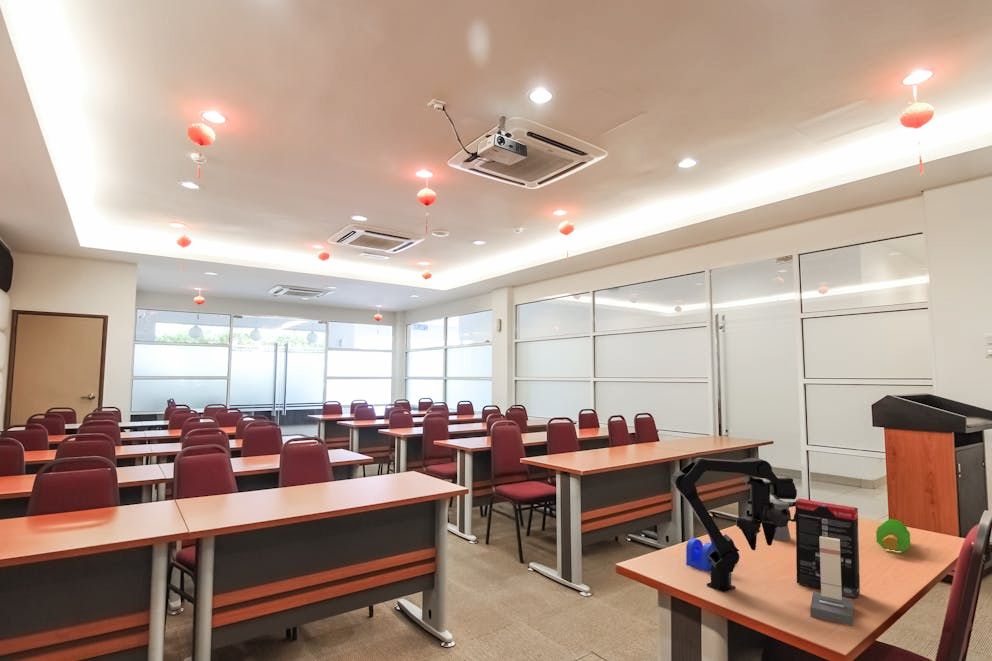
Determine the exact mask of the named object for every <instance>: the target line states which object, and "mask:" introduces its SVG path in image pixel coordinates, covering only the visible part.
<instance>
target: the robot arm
mask: <svg viewBox="0 0 992 661" xmlns="http://www.w3.org/2000/svg"><path fill="white" fill-rule="evenodd" d="M705 472H720V473H735V474H744V475H747V477H746V478H744V479H743V483H745V484H747V485H749V486H750V487H749V488H750V491H749V492H750V493H749V494H750V499H749V500H747V504H749V505H750V512H748V513H747V516H741V517H737V518H736V520H735V525H736V527H737V528H738V529H739V530H741V533H742V534H743V535H744V538H745V539H746V542H747V543H748V545H749V547H750V550H752V551H756V548H757V538H758V537H757V535H758V534H759V533H761V527H762V531H763V535H764V537H765V541H766V545H767V546H772V545H773V541H774V540H773V538H774V535H775V532H776V530H777V528H779V527H780V528H782V527H784V526H787V524H788V525H789V522H790V521H791V519H792V516H791V510H790V509H789V510H788V509H782V510H781V511H780V509H778V510H777V509H775V508H774V504H773V502H770V499H771V496H772V497H773V499H780V500H797V497H798V496H797V495H798V491H797V488H796V484H795V483H794V478H791V477H790V476H789V477H788V476H786V477H777V475H776V474H775V472H773V467H772V465H771V464H770V463H769V461H767V460H764V459H761V458H759V457H750V458H749V457H748V458H743V459H739V460H737V459H720V458H719V459H718V458H707V457H706V458H704V457H696V458H695V459H693V461H691V462H689V463H688V464H687V465H685V466H684V467H683V468H682V469H680V470H678V471H675V472H673V474H672V475H671V477H670V478H671V479H670V482H671V484H672V485H673V487H674V488H675V489H676V490H677V491H678V493H679V494H680V495H681V496H682V497H683V499H685V500H686V502H687V503H688V504H689V506H690V508H691V510H692V511H693V513H694V515H695V516H696V518H697V519H698V521H699V522H700V524H701V525H702V528H703V529H704V531H705V532H706V534H707V535H708V537H709V540H710V543H711V544H712V546H713V549H714V551H713V552H712V553H710V554H709V555H708V560H709V562H710V563H711V564H712V565H711V571H710V582H707V583H706V586H707V587H709V588H712V589H715V590H718V591H720V592H723V593H726V592H728V591H731V590H732V591H733V590H734V589H737V587H736V586H735V585H733V584H732V573H733V572H734V570H735V566H736V565H737V564H738V563H739V561H740V557H741V556H740V554H739V552H740V549H738V548H737V547H736V545H735V543H734V541H733V539H732V538H731V537H730V536H729V535H727V534H724V535H723V534H722V532H721V530H720V529H719V528H718V525H717V524H716V522H715V521H714V519H713V518H712V515H710V513H709V511H708V509H707V508H706V507H705V505H704V503H703V501H702V500H701V499H700V497H699V493H698V489H697V487H696V483H697V482H698V481H699V480H700V478H701V477H702V476H703V474H704V473H705ZM763 479H765V480H766V481H764V480H763Z"/></svg>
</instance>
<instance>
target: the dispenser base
mask: <svg viewBox="0 0 992 661" xmlns="http://www.w3.org/2000/svg"><path fill="white" fill-rule="evenodd" d="M853 605H854V604H853V598H846V597H843V596H842V600H839V599H834V598H830V597H825V596H821V592H818V591H814V590H813V591H812V596H811V601H810V608H809V609H810V613H809V614H810V617H812V618H816V619H820V620H825V621H829V622H833V623H837V624H842V625H845V626H851V627H853V626H854V620H853V619H854V612H853V610H854V608H853V607H854V606H853Z"/></svg>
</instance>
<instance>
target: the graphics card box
mask: <svg viewBox="0 0 992 661" xmlns="http://www.w3.org/2000/svg"><path fill="white" fill-rule="evenodd" d="M794 502H795V506H794V508H795V510H796V522H795V535H796V536H795V542H796V544H795V546H796V550H795V551H796V556H795V557H796V562H795V563H796V565H795V566H796V583H797V584H800V585H804V586H806V587H807V586H808V587H810V588H814V589H818V590H821V572H820V541H819V537H820V536H823V537H829V538H835V539H840V562H841V584H842V585H841V590H842V596H845V597H849V598H851V599H858V597H859V595H860V593H861V587H860V586H861V583H860V582H861V581H860V580H861V579H860V551H859V550H860V548H859V546H860V545H859V544H860V543H859V514H858V513H859V509H858V507H854V506H848V505H842V504H837V503H836V504H835V503H831V502H825V501H823V502H822V501H818V500H817V501H816V500H810V499H805V498H804V499H803V498H798V499H795V501H794Z"/></svg>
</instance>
